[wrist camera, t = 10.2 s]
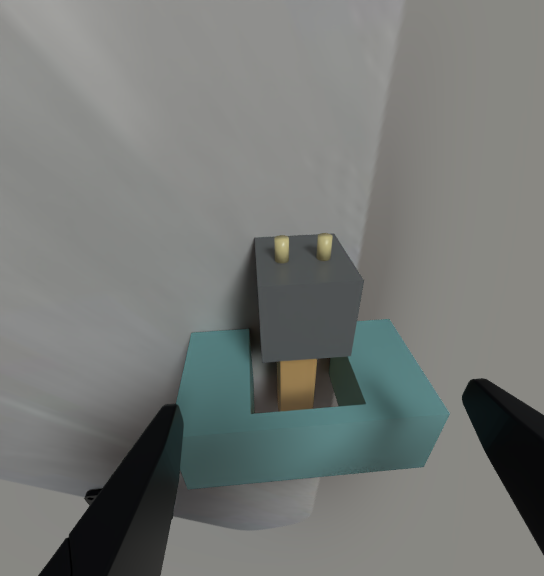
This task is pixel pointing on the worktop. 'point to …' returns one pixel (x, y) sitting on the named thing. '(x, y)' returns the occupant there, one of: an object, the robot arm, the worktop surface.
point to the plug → (304, 309)
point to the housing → (305, 414)
